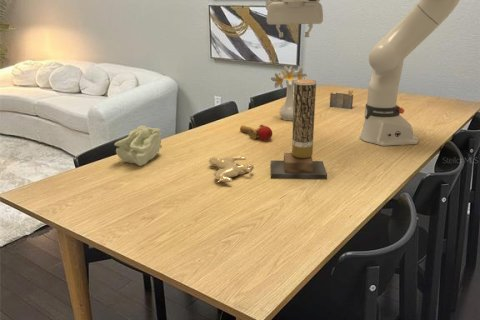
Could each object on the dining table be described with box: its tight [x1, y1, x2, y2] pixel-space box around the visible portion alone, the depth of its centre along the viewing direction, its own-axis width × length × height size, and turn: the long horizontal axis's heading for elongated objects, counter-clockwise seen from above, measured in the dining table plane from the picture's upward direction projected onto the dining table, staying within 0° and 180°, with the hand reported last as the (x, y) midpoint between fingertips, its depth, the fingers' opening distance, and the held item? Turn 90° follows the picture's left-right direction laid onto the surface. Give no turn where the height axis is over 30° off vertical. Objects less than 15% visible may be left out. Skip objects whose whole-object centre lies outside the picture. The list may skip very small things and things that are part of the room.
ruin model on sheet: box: [329, 89, 354, 110], centre depth 218 cm, size 11×3×10 cm, turn 61°
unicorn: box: [208, 156, 255, 183], centre depth 138 cm, size 20×4×17 cm
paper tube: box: [291, 78, 317, 158], centre depth 135 cm, size 7×7×25 cm
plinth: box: [270, 152, 328, 180], centre depth 139 cm, size 18×12×5 cm, turn 86°
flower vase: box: [270, 65, 308, 121], centre depth 194 cm, size 13×18×25 cm
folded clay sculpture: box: [113, 124, 163, 167], centre depth 149 cm, size 18×13×16 cm
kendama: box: [239, 124, 273, 142], centre depth 174 cm, size 8×6×18 cm
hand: (293, 37), depth 152 cm, fingers open, 8 cm apart
